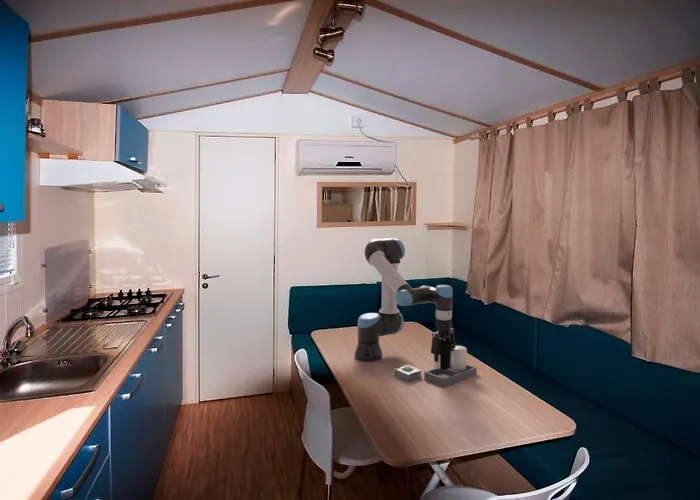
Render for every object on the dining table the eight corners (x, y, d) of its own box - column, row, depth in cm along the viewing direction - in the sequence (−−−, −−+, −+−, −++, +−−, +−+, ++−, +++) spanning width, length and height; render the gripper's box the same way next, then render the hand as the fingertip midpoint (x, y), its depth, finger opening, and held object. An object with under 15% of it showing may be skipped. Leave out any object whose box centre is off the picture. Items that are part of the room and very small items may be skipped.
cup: (452, 370, 191) (452, 345, 190) (435, 369, 193) (435, 344, 192) (451, 364, 199) (451, 340, 198) (435, 363, 200) (435, 339, 199)
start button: (402, 374, 201) (402, 367, 200) (407, 372, 203) (407, 365, 203) (407, 376, 198) (407, 369, 197) (413, 375, 200) (413, 367, 200)
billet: (447, 371, 204) (447, 347, 203) (456, 367, 209) (457, 344, 208) (459, 376, 198) (460, 351, 197) (469, 372, 203) (470, 348, 202)
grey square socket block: (394, 376, 201) (394, 369, 201) (407, 371, 207) (407, 364, 206) (408, 381, 194) (408, 374, 194) (421, 377, 200) (421, 370, 199)
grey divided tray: (424, 378, 198) (424, 371, 197) (455, 367, 212) (456, 360, 212) (444, 387, 188) (444, 379, 188) (476, 374, 202) (476, 367, 202)
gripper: (435, 323, 185) (434, 373, 187) (464, 316, 197) (463, 363, 199) (422, 320, 191) (422, 368, 193) (451, 313, 203) (450, 358, 205)
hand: (443, 365), depth 196 cm, fingers closed on cup, 8 cm apart
